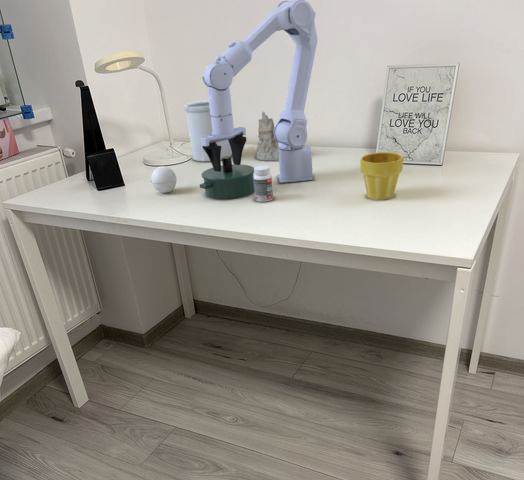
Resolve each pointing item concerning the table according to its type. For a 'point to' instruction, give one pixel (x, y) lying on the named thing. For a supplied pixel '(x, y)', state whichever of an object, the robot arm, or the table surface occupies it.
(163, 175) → the white rounded ovoid
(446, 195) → the table surface
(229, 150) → the utensil holder
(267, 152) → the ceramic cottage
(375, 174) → the flower pot
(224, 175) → the lid
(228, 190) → the pot
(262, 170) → the pill bottle
